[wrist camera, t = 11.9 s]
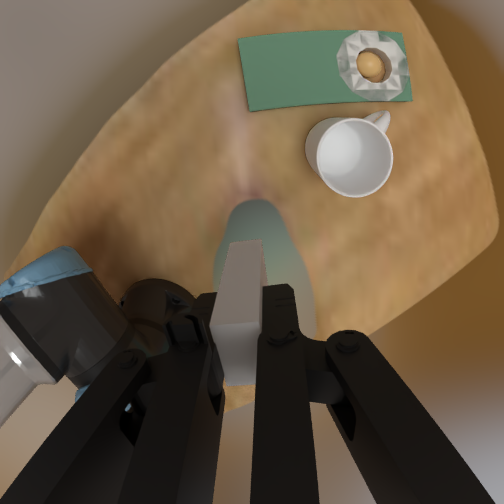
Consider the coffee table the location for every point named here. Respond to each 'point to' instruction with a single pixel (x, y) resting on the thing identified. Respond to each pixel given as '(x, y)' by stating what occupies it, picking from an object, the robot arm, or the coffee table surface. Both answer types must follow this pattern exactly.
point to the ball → (368, 64)
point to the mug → (351, 153)
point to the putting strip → (321, 68)
